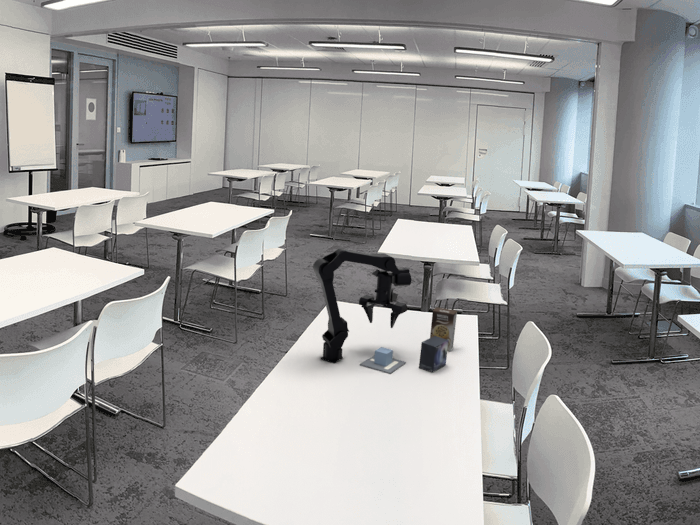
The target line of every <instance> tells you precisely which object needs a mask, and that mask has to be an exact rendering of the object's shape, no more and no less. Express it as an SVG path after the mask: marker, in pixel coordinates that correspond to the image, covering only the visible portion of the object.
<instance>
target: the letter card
mask: <svg viewBox="0 0 700 525" xmlns="http://www.w3.org/2000/svg"><path fill="white" fill-rule="evenodd" d="M374 359H375V354H374V355H372V356H371V357H369V358H367V359H365V360H363V361H362V362H360V363H359V366H361V367H365V368H367V369H370V370H371V369H372V370H375V371H378V372H382V373H385V374H389V375H391V374H393V373H394V372H395V371H397V370H398V369H401V367H404V365H406V364H407V361H404V360H401V359H400V360H399V359H397V358H393V357H392V363H390V364H389V365H387V366H382V365H379V364H375V363H374Z"/></svg>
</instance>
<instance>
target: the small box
mask: <svg viewBox="0 0 700 525" xmlns="http://www.w3.org/2000/svg"><path fill="white" fill-rule="evenodd" d="M448 341H449V340H447V339H444V338H441V337H438V336H434V337H431V338H430V337H429V338H427V339H425V340H423V341H421V343H420V344H421V346H420V353H419V354H420V355H419V363H418V368H419V369H421V370H424V371H428V372H430V373H434V372H435V371H436V372H437V370H439V369H441V368H443V367H445V366H446V365H447V358H448V357H447V356H448V351H447V350H448Z"/></svg>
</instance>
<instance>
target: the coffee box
mask: <svg viewBox="0 0 700 525" xmlns="http://www.w3.org/2000/svg"><path fill="white" fill-rule="evenodd" d="M457 315H458V310H455V309H449V308H444V307H438V306H436V307H434V309H433V310H432V315H431V316H432V317H431V324H430V325H431V327H430V332H429V333H430V334H429V335H430V336H429V338H431V337H434V336H438V337H441V338H444V339H447V340H449V341H448V350H447V352H451V351H452V349H453V348H454V341H455V332H456V325H457V318H458V316H457Z"/></svg>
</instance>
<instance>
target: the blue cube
mask: <svg viewBox="0 0 700 525" xmlns="http://www.w3.org/2000/svg"><path fill="white" fill-rule="evenodd" d="M393 354H394V349H391V348H387V347H384V346H381V347H379V348H377V349H375V350H374V355H375V359H374V363H375V364H379V365H382V366H387V365H389V364H390V363H392V358H393V357H394V356H393Z"/></svg>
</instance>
